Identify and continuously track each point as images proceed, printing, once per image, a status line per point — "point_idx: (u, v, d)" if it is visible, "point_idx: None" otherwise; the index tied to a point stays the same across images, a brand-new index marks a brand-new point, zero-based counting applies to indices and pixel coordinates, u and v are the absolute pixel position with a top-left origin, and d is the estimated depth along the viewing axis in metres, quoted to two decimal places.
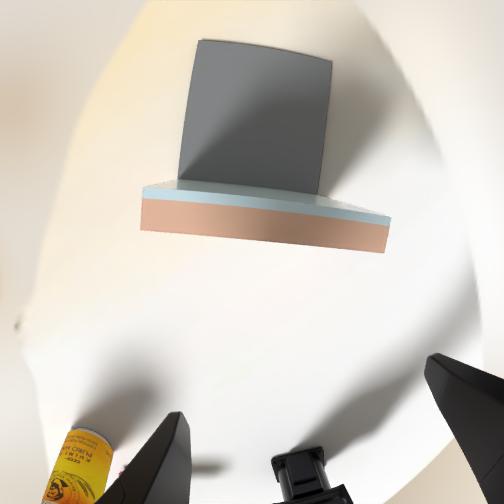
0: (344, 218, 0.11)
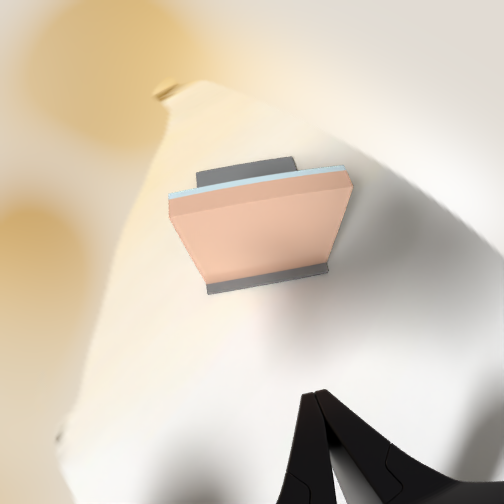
0: (308, 174, 0.16)
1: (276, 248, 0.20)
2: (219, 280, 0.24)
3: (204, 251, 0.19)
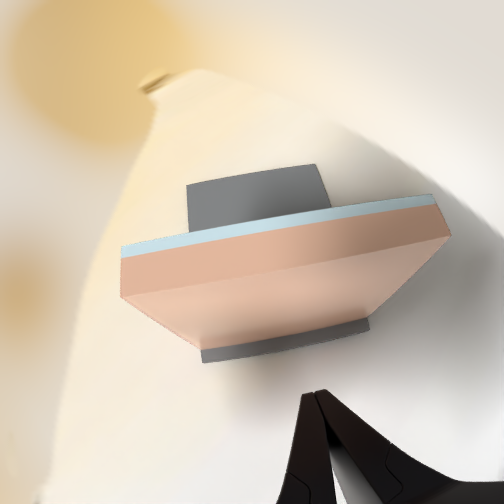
0: (380, 211, 0.08)
1: (306, 315, 0.13)
2: (218, 346, 0.16)
3: (194, 327, 0.12)
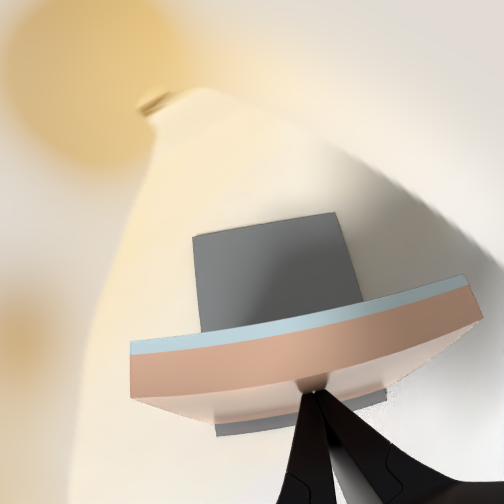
0: (412, 301, 0.07)
1: None
2: (232, 421, 0.14)
3: (208, 413, 0.10)
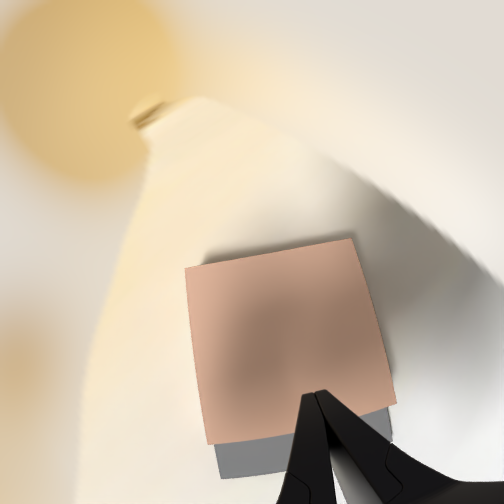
0: None
1: (304, 349, 0.15)
2: (227, 436, 0.13)
3: (210, 340, 0.15)
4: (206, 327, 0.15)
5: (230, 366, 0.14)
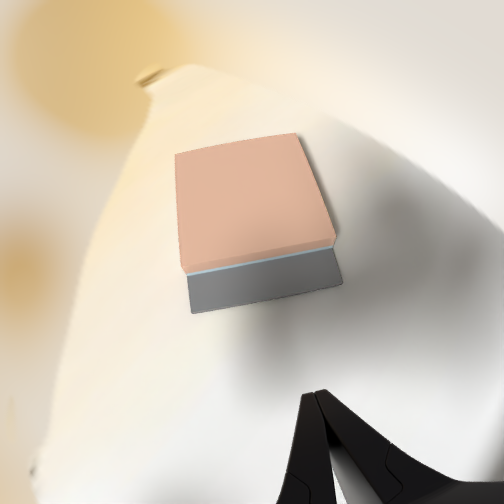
0: None
1: (257, 194, 0.20)
2: (197, 258, 0.18)
3: (189, 193, 0.21)
4: (187, 185, 0.21)
5: (202, 207, 0.20)
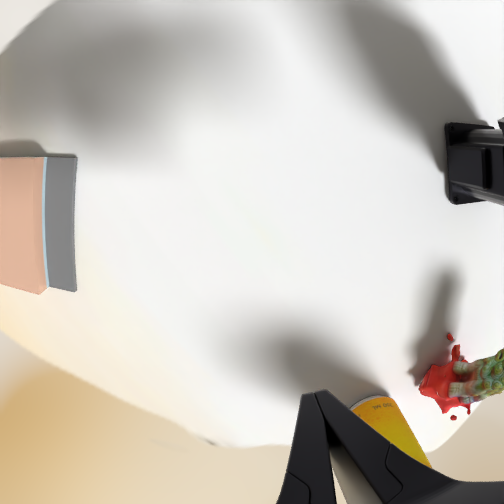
0: None
1: None
2: (34, 280, 0.17)
3: None
4: None
5: (1, 263, 0.17)
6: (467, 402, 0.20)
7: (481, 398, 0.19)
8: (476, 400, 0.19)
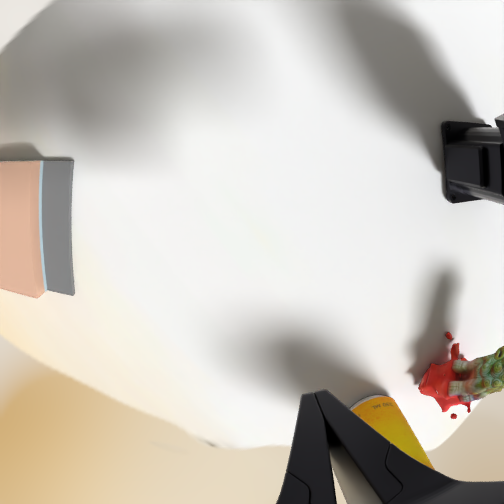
0: None
1: None
2: (32, 284, 0.17)
3: None
4: None
5: None
6: (467, 400, 0.20)
7: (481, 396, 0.19)
8: (476, 399, 0.19)
